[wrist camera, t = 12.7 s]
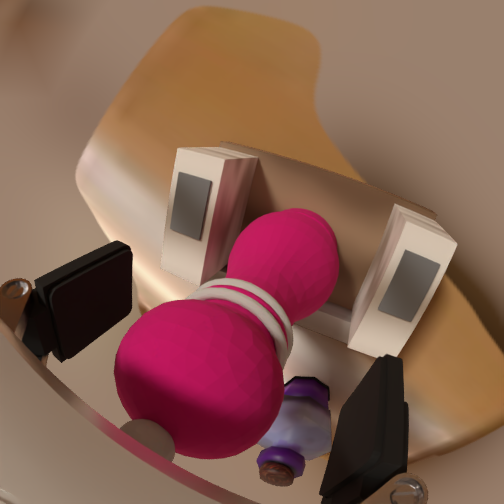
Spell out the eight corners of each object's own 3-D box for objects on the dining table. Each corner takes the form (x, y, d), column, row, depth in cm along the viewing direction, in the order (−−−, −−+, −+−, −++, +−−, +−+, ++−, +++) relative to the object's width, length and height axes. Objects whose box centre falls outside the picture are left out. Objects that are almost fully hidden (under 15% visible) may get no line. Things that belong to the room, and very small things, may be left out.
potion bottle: (256, 375, 32) (210, 455, 21) (324, 355, 28) (295, 451, 17) (292, 421, 32) (260, 498, 22) (355, 407, 28) (338, 497, 18)
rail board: (228, 141, 24) (177, 140, 17) (432, 210, 20) (461, 236, 13) (203, 263, 29) (156, 296, 22) (376, 331, 25) (375, 388, 18)
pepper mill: (358, 267, 22) (302, 541, 4) (282, 299, 25) (144, 505, 8) (315, 184, 21) (94, 338, 4) (240, 226, 25) (21, 372, 7)
